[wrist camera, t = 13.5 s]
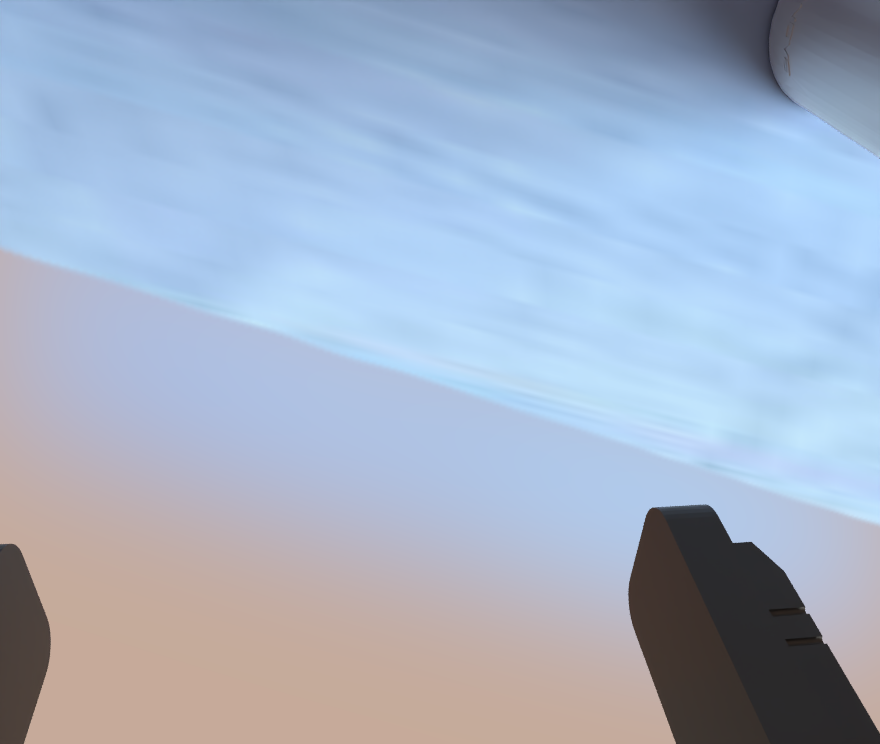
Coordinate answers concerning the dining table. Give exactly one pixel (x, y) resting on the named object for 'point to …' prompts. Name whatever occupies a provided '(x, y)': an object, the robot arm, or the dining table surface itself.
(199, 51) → the dining table surface
